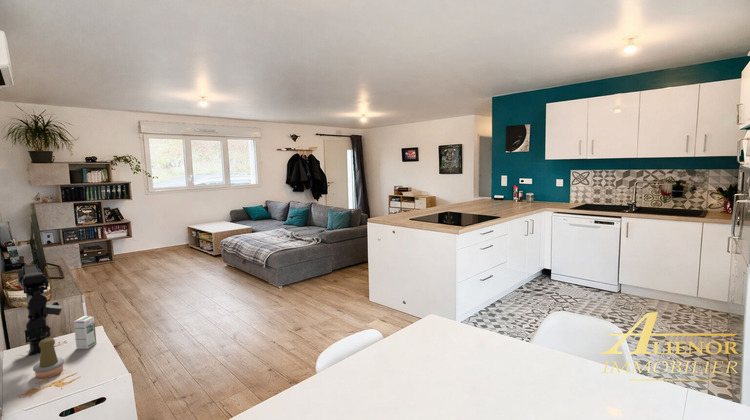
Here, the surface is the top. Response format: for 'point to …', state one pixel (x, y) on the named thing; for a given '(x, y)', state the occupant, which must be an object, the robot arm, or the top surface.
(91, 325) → the syrup box
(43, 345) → the cork
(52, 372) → the bowl
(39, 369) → the lid
